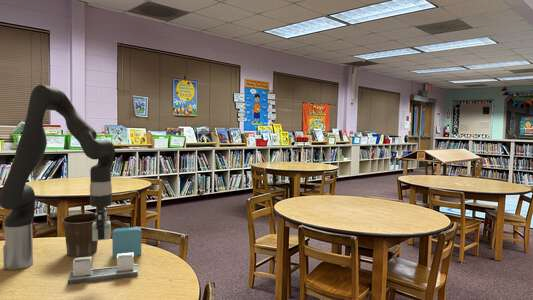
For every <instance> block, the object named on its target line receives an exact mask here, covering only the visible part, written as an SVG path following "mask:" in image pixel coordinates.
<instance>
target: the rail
mask: <svg viewBox="0 0 533 300" xmlns="http://www.w3.org/2000/svg"><path fill="white" fill-rule="evenodd" d="M134 257H135V256H134V252H132V253H122V254H117V258H116V265H115V266H109V267H100V268H98V267H97V268H93V256H83V257H74V259H73V261H72V270H71V271H70V274H69V276H68V279H67V285H69V286H70V285H76V284H77V285H78V284H85V283H94V282H101V281H109V280H118V279H125V278H126V279H128V278H135V277H138V275H139V273H138V271H139V270H138V264H137V263H136V264H135V263H134V261H135V260H134Z"/></svg>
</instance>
